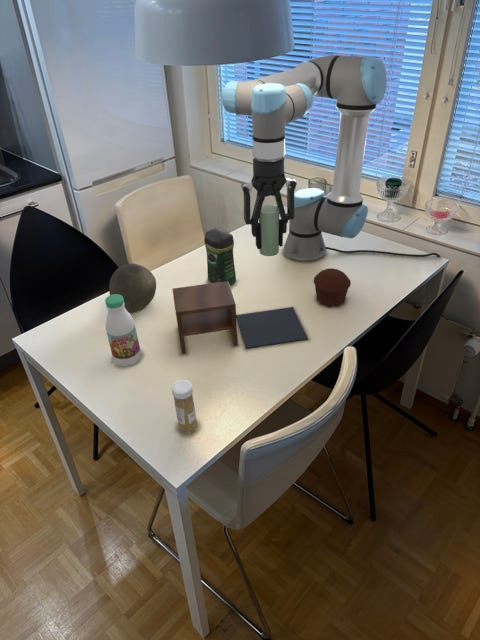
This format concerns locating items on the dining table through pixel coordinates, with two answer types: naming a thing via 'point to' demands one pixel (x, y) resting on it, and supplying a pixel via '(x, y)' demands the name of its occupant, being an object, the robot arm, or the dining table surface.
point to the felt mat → (270, 327)
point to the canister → (269, 230)
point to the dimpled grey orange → (133, 286)
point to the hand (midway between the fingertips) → (269, 245)
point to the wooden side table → (205, 310)
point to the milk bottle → (121, 332)
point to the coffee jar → (220, 256)
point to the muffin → (331, 287)
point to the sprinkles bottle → (184, 406)
